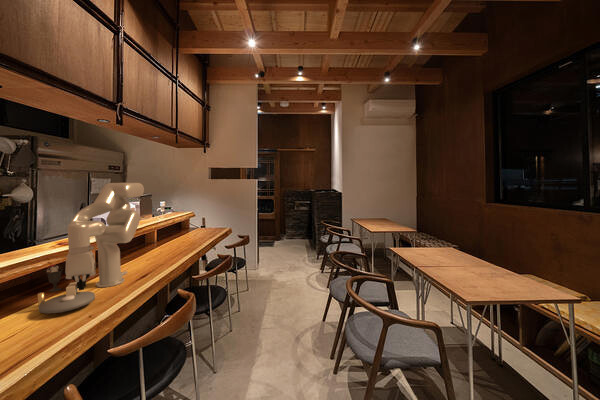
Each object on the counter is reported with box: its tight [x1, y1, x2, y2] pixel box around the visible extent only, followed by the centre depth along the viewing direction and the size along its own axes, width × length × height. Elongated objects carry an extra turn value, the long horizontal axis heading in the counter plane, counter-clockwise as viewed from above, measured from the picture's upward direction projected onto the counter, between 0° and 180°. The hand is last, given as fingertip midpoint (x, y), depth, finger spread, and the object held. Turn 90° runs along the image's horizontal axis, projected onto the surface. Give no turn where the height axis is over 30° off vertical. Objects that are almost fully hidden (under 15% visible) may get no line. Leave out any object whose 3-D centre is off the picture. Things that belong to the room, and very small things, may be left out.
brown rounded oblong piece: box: [37, 292, 75, 313], centre depth 112 cm, size 8×15×7 cm, turn 83°
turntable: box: [38, 281, 96, 314], centre depth 112 cm, size 20×18×6 cm
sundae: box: [44, 261, 64, 293], centre depth 130 cm, size 7×7×15 cm
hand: (81, 289), depth 119 cm, fingers closed
